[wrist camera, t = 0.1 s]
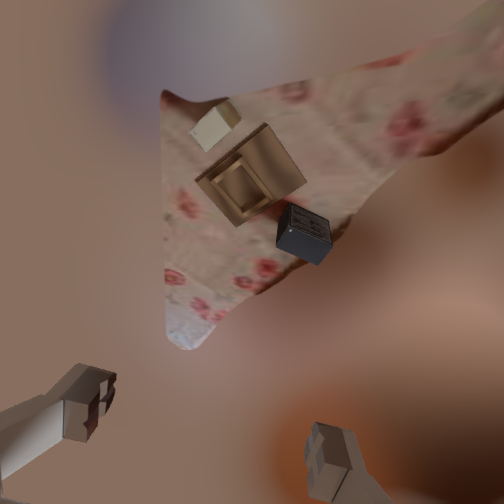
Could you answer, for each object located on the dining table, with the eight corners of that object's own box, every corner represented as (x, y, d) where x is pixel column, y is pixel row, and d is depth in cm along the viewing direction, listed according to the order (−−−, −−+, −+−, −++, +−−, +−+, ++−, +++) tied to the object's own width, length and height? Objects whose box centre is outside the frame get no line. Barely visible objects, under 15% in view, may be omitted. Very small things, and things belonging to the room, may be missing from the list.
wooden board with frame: (268, 124, 52) (267, 126, 50) (306, 181, 58) (307, 185, 56) (197, 181, 61) (194, 185, 59) (236, 226, 67) (235, 230, 65)
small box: (276, 223, 65) (273, 248, 56) (289, 201, 61) (288, 224, 53) (315, 240, 66) (317, 267, 58) (330, 220, 62) (335, 245, 54)
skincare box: (220, 137, 55) (204, 155, 45) (206, 118, 53) (185, 132, 43) (245, 116, 52) (232, 130, 42) (230, 96, 50) (214, 105, 41)
